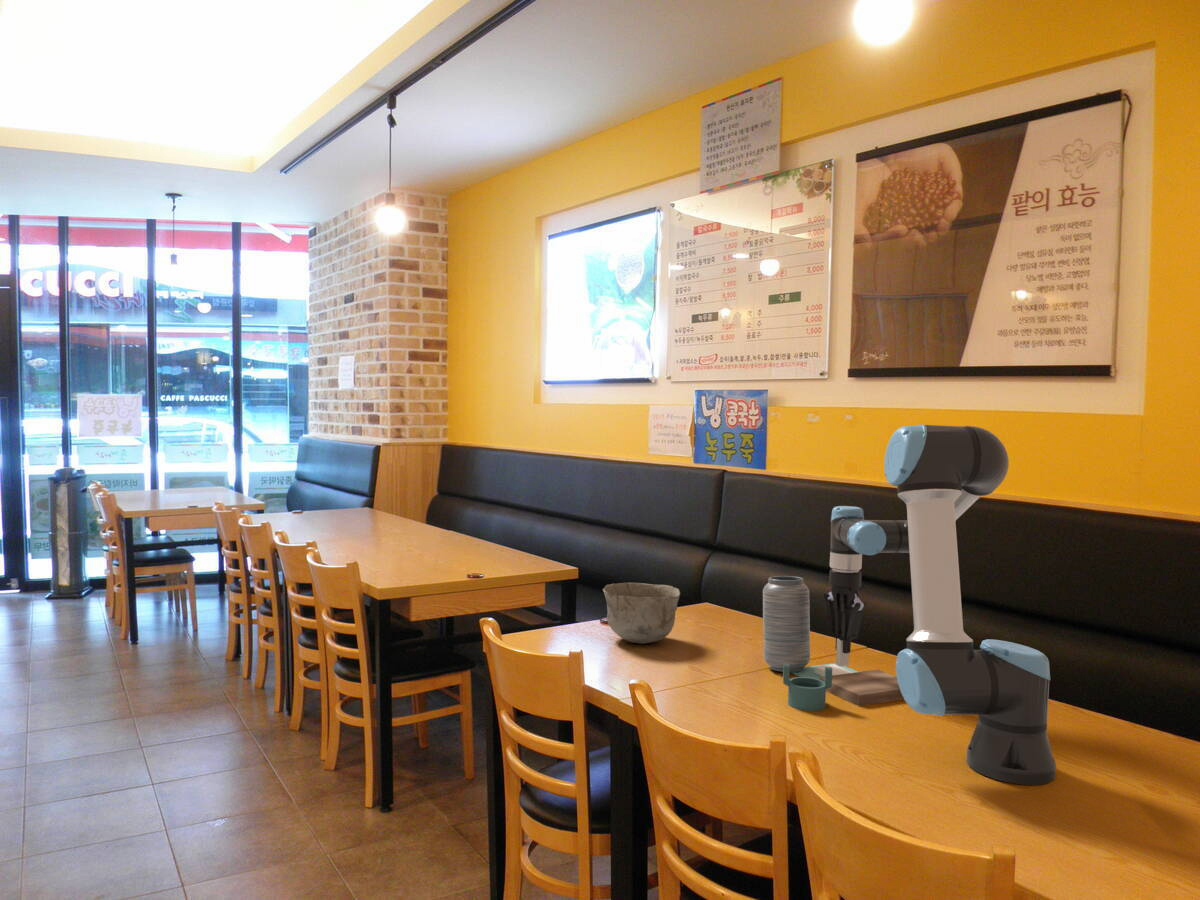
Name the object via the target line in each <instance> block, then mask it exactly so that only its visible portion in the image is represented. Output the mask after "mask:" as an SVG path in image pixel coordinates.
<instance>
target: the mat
mask: <svg viewBox="0 0 1200 900" xmlns="http://www.w3.org/2000/svg"><path fill="white" fill-rule="evenodd" d="M832 664H834V665H836V662H834V663H827V664H820V665H818V664H817V665H810V666H805V667H804V670H802V671H798V672H789V674H793V675H794V676H796V677H810V678H815V679H819V677H823V676H821V675H819V674H817V673H814V670H815V667H816V666H824V665H832ZM837 666H838V665H837ZM839 667H842V668H844V669H846V670H849V671H851V672H854V673H856V672H859V671H858V670H855V669H853V668H850V667H847V666H839Z"/></svg>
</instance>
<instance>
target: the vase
mask: <svg viewBox="0 0 1200 900" xmlns="http://www.w3.org/2000/svg"><path fill="white" fill-rule="evenodd" d="M810 609H811V608H810V589H809V587H808V585H806V584H805V583H804V578H803V577H802V576H801V577H800V576H794V575H791V576H790V575H777V576H776V575H775V576H769V577H768V583H766V584H765V585H764V587H763V589H762V632H763V633H762V634H763V635H762V637H763V639H762V640H763V642H762V643H763V646H762V647H763V649H762V650H763V659H764V661H765V663H766V664H767V665H768V666H769V669H770V670H772V671H775V672H781V673H783V664H789V665H790V670H789V673H790V672H798V671H802V670H804V667H807V665H809V663H810V660H811V633H810V632H811V628H810V626H811V624H810V622H811V621H810V620H811V619H810V618H811V617H810V611H811V610H810Z"/></svg>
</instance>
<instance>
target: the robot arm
mask: <svg viewBox="0 0 1200 900" xmlns="http://www.w3.org/2000/svg"><path fill="white" fill-rule="evenodd" d="M1009 461H1010V460H1009V456H1008V451H1007V449H1006V447H1005V444H1004V443H1003V442H1002V441H1001V440H1000V439H999V437H998V436H997V435H995V434H994V433H992V432H991V431H989V430H987V429H986V428H984V427H979V426H972V425H965V426H964V425H963V426H961V425H960V426H959V425H937V424H935V425H933V424H917V425H903V426H901V427H899V428H898V429H896V431H894V432H893V434H892V435H891V436H890V439H889V441H888V444H887V446H886V451H885V455H884V466H883V468H884V469H883V471H884V476H885V477H886V481H887V483H888V484H890V485H892V486H893V487H897V488H896V490H897V497H898V498H899V499H900V500H902V501H903V502H904V504H905V505H906V514H907V515H906V516H907V517H906V518H907V519H906V520H904V519H903V520H899V519H898V520H897V519H896V520H895V519H893V520H887V519H885V520H882V519H881V520H880V519H878V520H877V519H865V516H864V509H863V508H862V507H858V506H852V505H851V506H849V505H837V506H834V507H833V508H832V511H831V517H830V549H829V551H830V553H829V555H830V556H829V567H830V570H829V578H828V579H829V581H828V582H829V585H831V588H830V592H827V593H824V594H823V598H824V601H825V603H826V611H827V612H826V613H827V619H828V628H829V633H830V634H833V636H834V638H835V650H836V655H835V657H836V658H835V663H836V665H838V666H846V667H847V666H849V664H850V654H851V646H852V645H851V644H852V643H851V642H852V640H855V639H858V636H859V634H860V633H859V632H860V627H861V623H862V620H863V619H862V618H863V614H864V611H865V609H866V608H867V603H866V602H865V601H864V602H863V601H861V599H860V595H859V588H860V587H861V586H862V572H861V571H860V570H861V569H862V565H863V555H866V556H874V555H876V554H880V553H881V554H883V553H886V554H888V553H890V554H891V553H892V554H893V553H894V554H895V553H898V554H899V553H900V554H902V553H903V554H905V553H906V554H909V564H910V565H909V566H910V567H909V568H910V580H911V581H910V582H911V598H912V613H913V631H912V633H911V634H910V635H909V636H908V637H907V638H906V639H905V640H906V648H904V649H902V650H900V651H899V652H898V653H897V655H896V662H895V674H896V675H895V676H896V677H897V681H898V685H899V688H900V691H901V693H902V696H903V698H904V699H903V700H904V701H905V702H906V704H907V705H908V706H909V708H910V709H911V710H913V711H914V712H915V713H917V714H920V715H935V716H938V717H942V716H944V715H948V716H949V715H950V716H951V715H952V716H955V715H963V716H964V715H967V716H968V715H969V716H970V715H972V716H973V715H976V716H977V715H978V718H977V724H976V725H975V729H974V731H973V734H972V736H971V737H970V741H969V744H968V746H967V748H966V764H967V765H968V767H970V768H971V769H972V770H973V771H975V772H977V773H978V774H981V775H982V776H986V777H988V778H991V779H994V780H997V781H1000V782H1006V783H1009V784H1010V783H1011V784H1017V785H1018V784H1019V785H1029V786H1030V785H1038V786H1039V785H1044V784H1049V783H1051V782H1053V781H1054V780H1055V779H1056V774H1057V773H1056V772H1057V763H1056V760H1055V758H1054V756H1053V751H1052V747H1051V744H1050V740H1049V737H1048V713H1049V694H1050V693H1049V692H1050V681H1051V674H1050V673H1051V671H1050V661H1049V659H1048V657H1047V656H1046V655H1045V654H1044V653H1043V652H1041V651H1040V650H1038V649H1035V648H1032V647H1030V646H1027V645H1023V644H1020V643H1015V642H1011V641H1007V640H1002V639H1001V640H999V639H992V638H991V639H984V640H982V641H981V644H980V645H979V648H980V649H974V639H972V638H971V637H970V636H969V635H967V633H966V632H965V631H964V622H963V609H962V606H963V605H962V594H961V579H960V565H959V552H958V551H959V550H958V538H957V527H956V521H957V520H958V519H959V518H960V517H962V515H963V514H964V513H966V511H968V509H969V508H970V507H972V505H973V504H975V502H976V501H978V500H979V499H980V498H981V497H986V496H989V495H990V494H992V493H993V492H994V491H995V490H996V489H998V488H999V486H1001V485H1002V483H1003V482H1004V480H1005V479H1006V476H1007V474H1008V471H1009Z"/></svg>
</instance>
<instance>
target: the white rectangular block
mask: <svg viewBox="0 0 1200 900" xmlns="http://www.w3.org/2000/svg"><path fill="white" fill-rule="evenodd" d="M831 664H832V665H825V664H823V665H824V666H817V665H815V666H816V667H815V670H814V673H817V674H819V675H821V676H823V677H825V667H832V676H833V675H841V674H848V673H854V672H851V671H849V670H846V669H844V668H842V667H839V666H837V665H834V664H833V663H831Z"/></svg>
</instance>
